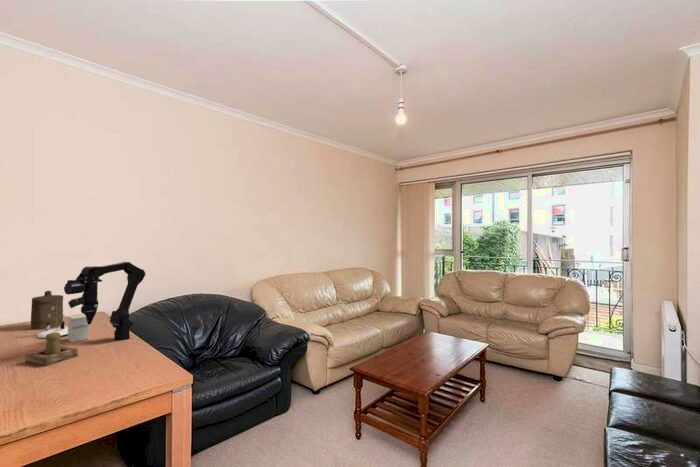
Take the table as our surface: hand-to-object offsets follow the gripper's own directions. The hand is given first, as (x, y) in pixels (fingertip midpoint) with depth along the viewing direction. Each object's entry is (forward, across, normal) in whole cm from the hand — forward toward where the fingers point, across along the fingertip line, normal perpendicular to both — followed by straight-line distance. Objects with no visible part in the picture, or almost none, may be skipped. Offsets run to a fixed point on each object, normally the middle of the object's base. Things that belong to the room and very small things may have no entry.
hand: (89, 322), depth 169 cm
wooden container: (+13, -65, -24) cm, 71 cm away
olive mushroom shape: (+12, +10, -13) cm, 20 cm away
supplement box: (+13, -21, -6) cm, 26 cm away
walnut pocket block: (+13, +10, -13) cm, 21 cm away
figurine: (+14, -40, -16) cm, 45 cm away
